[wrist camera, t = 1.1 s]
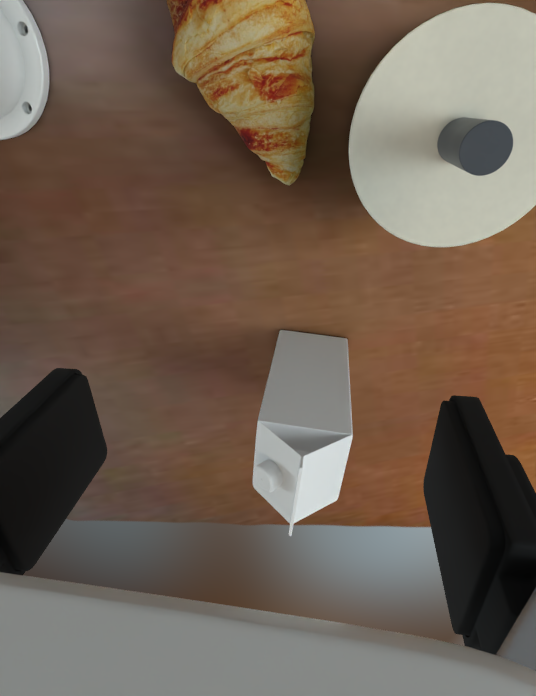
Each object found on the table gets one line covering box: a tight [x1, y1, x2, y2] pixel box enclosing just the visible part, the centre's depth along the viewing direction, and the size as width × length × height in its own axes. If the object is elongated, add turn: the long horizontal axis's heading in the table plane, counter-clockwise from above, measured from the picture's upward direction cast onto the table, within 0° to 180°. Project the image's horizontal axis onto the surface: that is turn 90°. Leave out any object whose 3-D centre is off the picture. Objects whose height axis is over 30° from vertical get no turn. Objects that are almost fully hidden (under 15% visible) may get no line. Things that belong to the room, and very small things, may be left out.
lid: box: [348, 3, 536, 247], centre depth 25 cm, size 14×14×7 cm
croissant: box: [167, 0, 315, 185], centre depth 30 cm, size 21×10×8 cm, turn 22°
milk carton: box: [253, 330, 353, 536], centre depth 37 cm, size 7×7×19 cm
